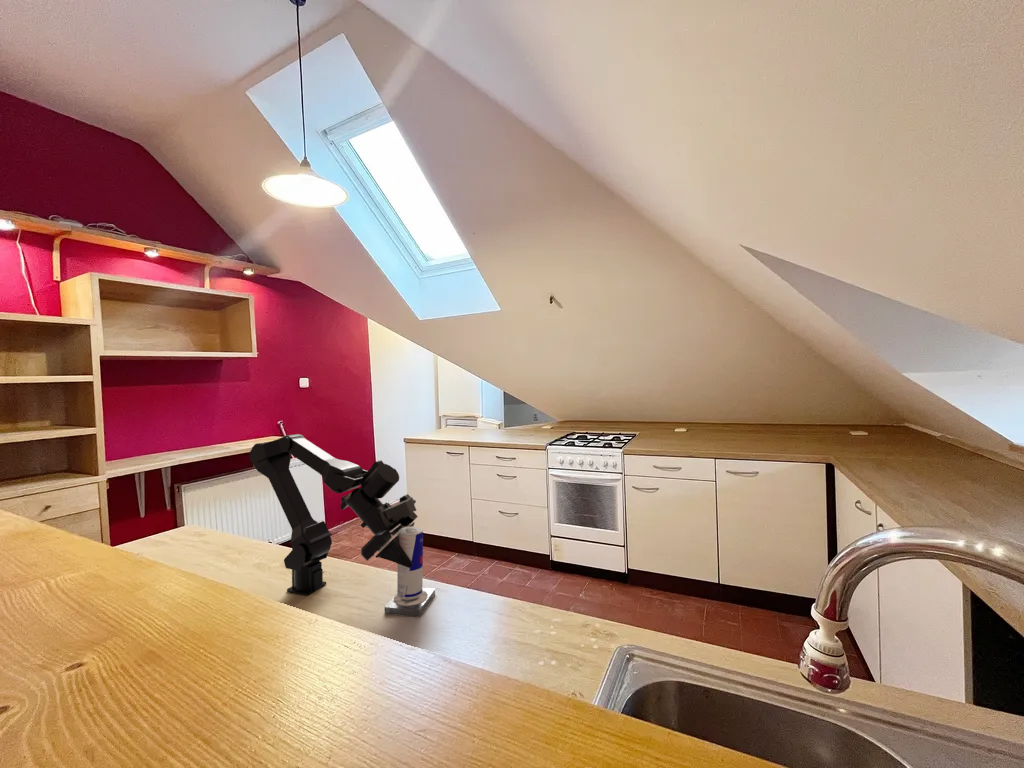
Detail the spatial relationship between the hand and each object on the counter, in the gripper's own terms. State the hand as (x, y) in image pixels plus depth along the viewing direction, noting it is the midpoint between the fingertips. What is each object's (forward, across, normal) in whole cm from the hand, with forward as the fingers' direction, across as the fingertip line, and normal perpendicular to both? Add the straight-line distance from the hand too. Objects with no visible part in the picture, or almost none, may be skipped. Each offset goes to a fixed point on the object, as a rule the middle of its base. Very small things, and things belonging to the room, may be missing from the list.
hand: (415, 561), depth 99 cm
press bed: (+6, 0, +8) cm, 10 cm away
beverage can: (+5, 0, +7) cm, 8 cm away
